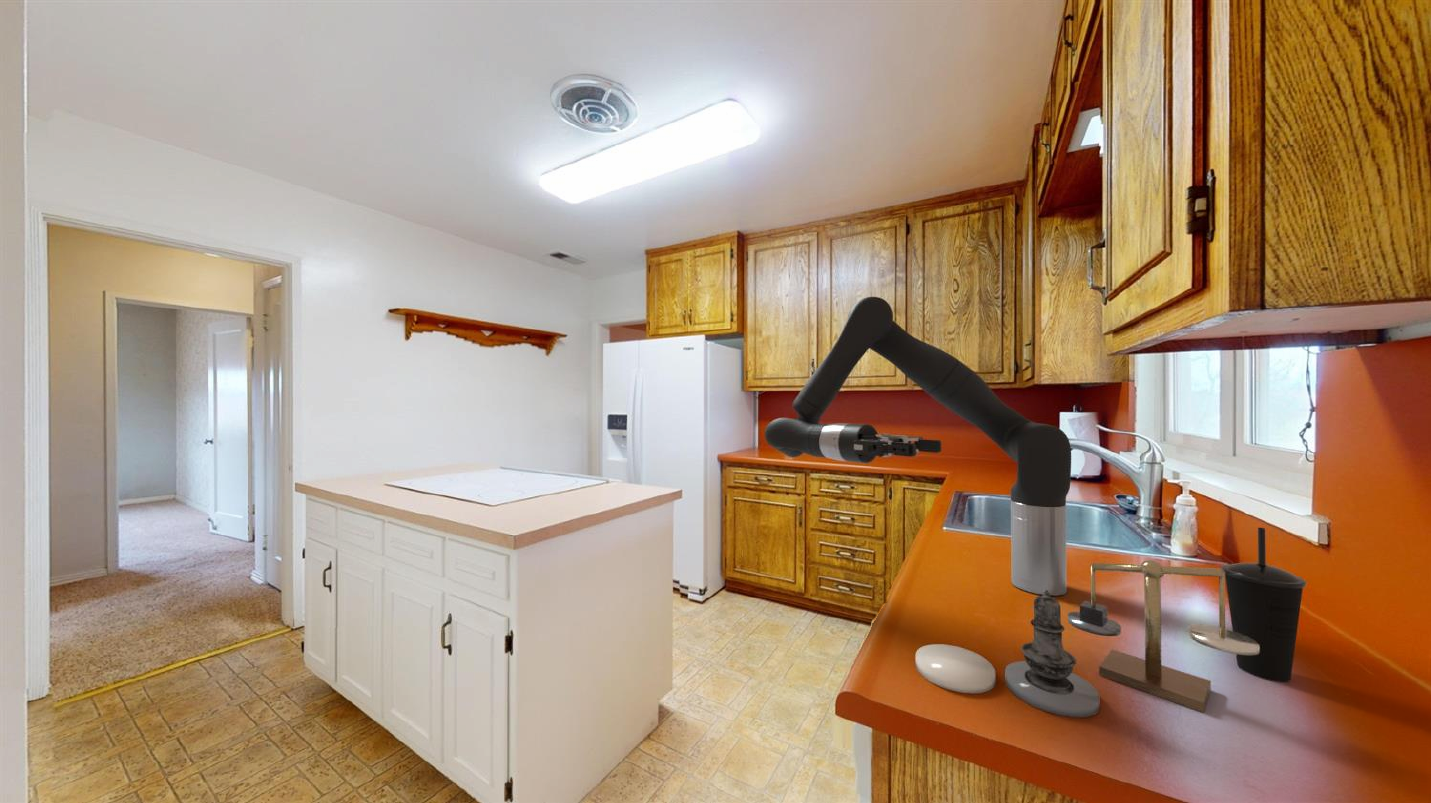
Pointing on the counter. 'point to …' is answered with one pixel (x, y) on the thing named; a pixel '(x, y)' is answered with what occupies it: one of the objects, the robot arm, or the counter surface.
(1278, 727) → the counter surface
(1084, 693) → the slate-grey dish
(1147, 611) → the brass balance
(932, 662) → the cream dish
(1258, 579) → the drinking cup
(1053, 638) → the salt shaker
